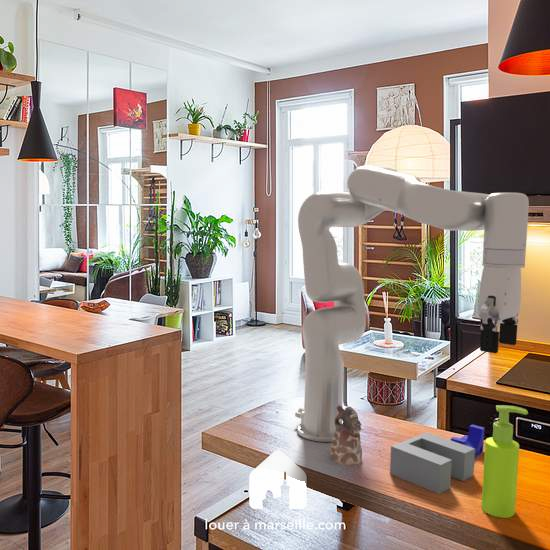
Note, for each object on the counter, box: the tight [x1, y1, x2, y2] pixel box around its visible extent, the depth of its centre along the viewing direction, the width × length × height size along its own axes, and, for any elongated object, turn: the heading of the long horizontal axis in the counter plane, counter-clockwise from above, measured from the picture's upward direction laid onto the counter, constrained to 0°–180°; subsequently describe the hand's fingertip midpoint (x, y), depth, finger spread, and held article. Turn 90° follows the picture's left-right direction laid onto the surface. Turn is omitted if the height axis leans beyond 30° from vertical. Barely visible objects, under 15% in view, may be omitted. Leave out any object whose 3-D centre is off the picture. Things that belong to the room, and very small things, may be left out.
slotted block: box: [389, 431, 475, 495], centre depth 124 cm, size 12×13×6 cm
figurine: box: [329, 405, 363, 466], centre depth 131 cm, size 7×7×12 cm
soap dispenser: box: [480, 404, 529, 519], centre depth 108 cm, size 6×7×20 cm
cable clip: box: [450, 424, 485, 459], centre depth 134 cm, size 12×4×6 cm, turn 139°
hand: (498, 347), depth 112 cm, fingers open, 9 cm apart
